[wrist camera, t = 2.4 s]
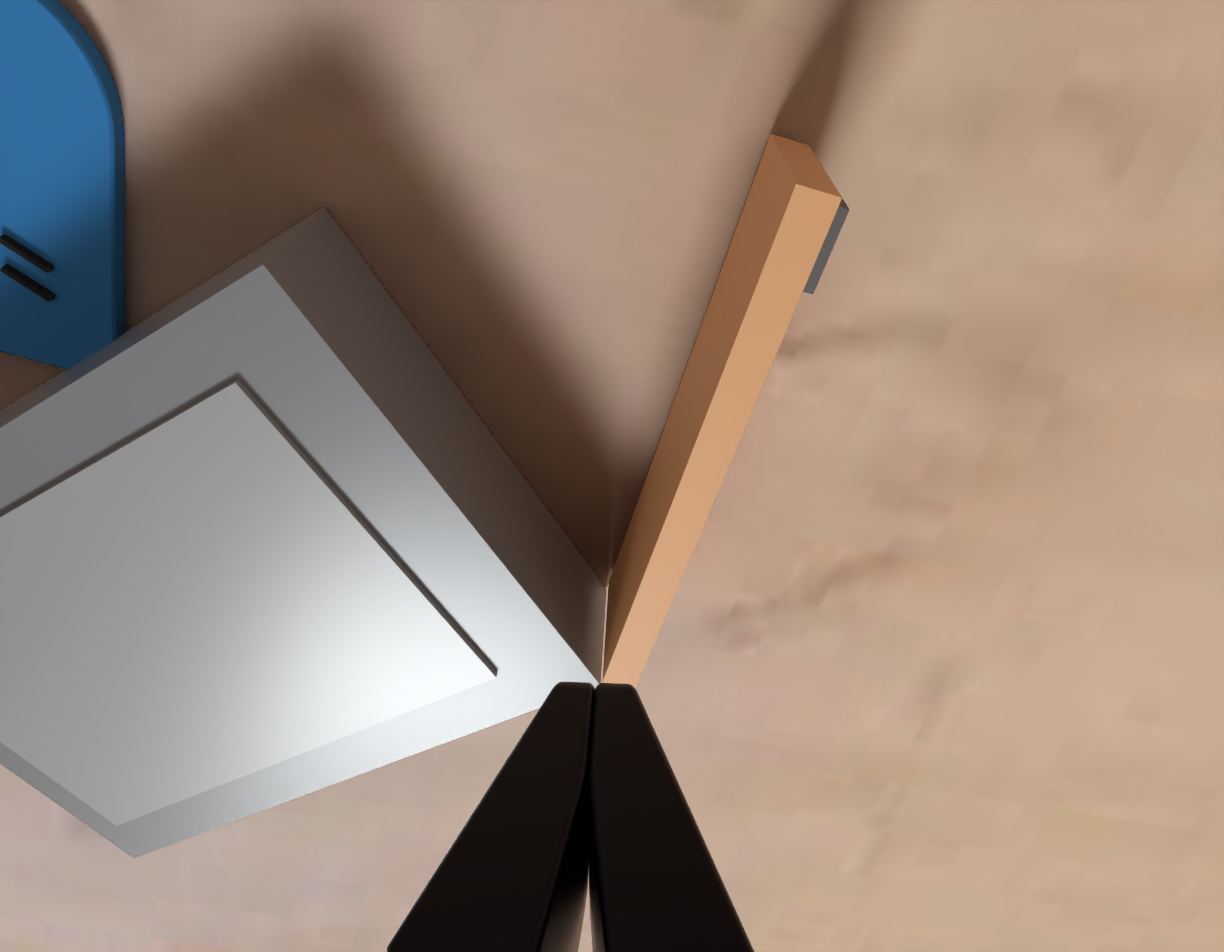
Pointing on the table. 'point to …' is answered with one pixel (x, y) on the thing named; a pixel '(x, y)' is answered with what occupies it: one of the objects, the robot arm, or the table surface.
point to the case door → (720, 390)
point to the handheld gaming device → (58, 188)
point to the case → (266, 556)
